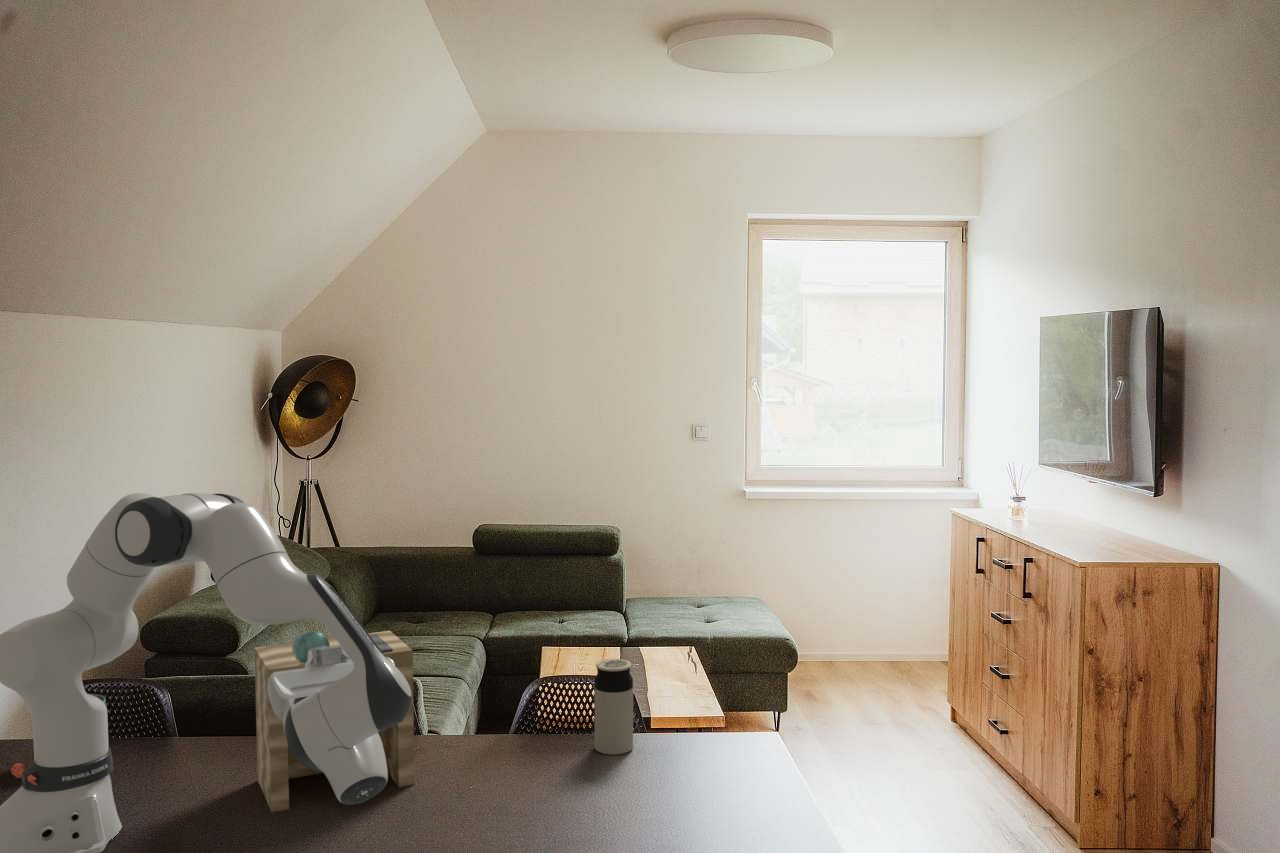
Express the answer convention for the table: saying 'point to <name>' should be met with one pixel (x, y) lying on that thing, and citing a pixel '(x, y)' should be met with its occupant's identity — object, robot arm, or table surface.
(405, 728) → the oak shelf
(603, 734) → the travel mug
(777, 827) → the table surface
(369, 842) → the table surface
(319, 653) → the teal maraca
